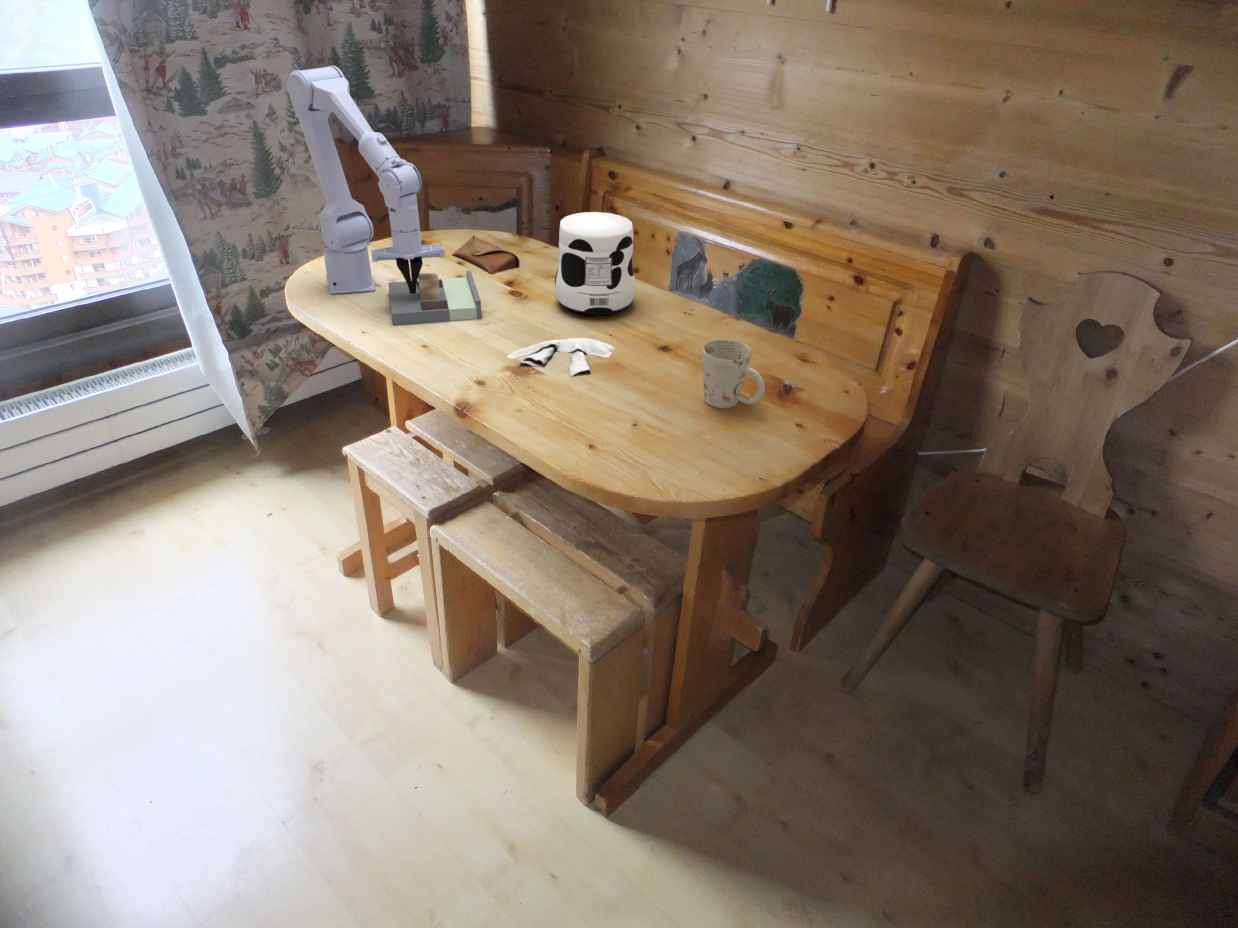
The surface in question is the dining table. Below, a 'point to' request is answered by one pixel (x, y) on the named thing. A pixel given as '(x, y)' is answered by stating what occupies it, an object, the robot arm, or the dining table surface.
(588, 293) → the milk container
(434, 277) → the beech block
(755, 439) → the dining table surface
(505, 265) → the sunglasses case
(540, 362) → the cloth
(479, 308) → the trap board
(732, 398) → the mug
